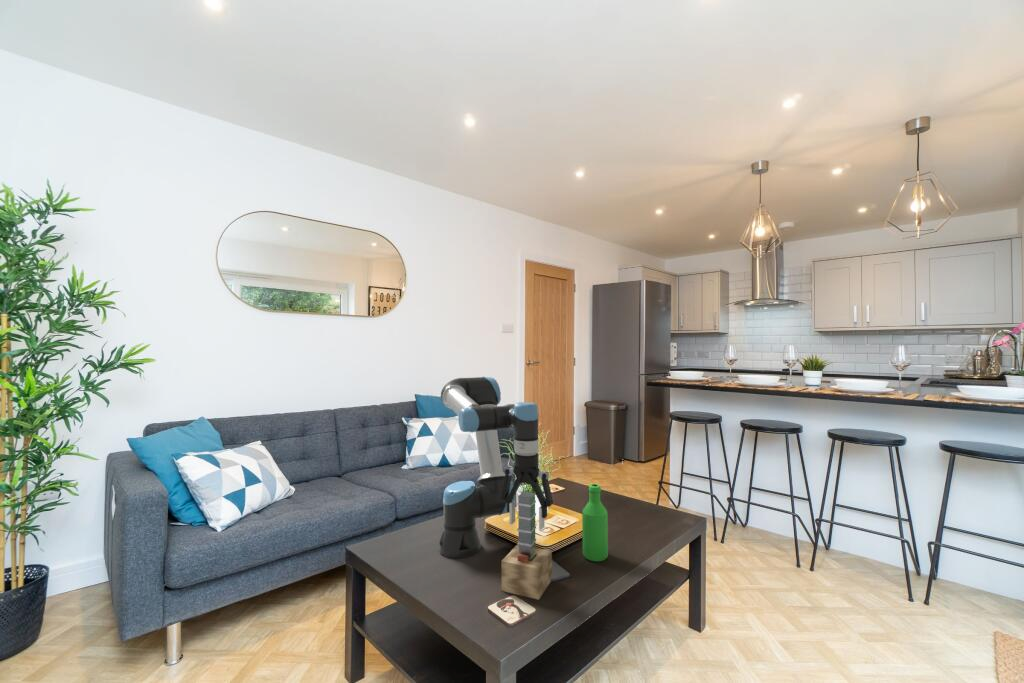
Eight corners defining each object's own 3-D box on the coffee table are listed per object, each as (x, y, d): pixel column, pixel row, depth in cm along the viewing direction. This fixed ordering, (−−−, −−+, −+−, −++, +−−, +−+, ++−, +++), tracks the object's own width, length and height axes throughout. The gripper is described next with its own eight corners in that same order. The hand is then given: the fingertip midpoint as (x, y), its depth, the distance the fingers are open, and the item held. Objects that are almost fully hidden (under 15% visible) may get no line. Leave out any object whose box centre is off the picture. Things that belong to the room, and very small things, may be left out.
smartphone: (547, 555, 155) (571, 574, 142) (547, 558, 155) (571, 577, 142) (528, 560, 152) (551, 580, 138) (528, 563, 152) (551, 583, 138)
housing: (501, 590, 134) (501, 555, 134) (517, 572, 145) (517, 539, 145) (538, 599, 129) (538, 563, 129) (552, 579, 140) (551, 546, 140)
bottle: (608, 563, 150) (607, 490, 150) (582, 561, 151) (581, 488, 152) (607, 551, 158) (607, 482, 158) (583, 549, 160) (582, 480, 160)
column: (517, 567, 136) (517, 495, 136) (523, 561, 140) (522, 491, 140) (531, 570, 134) (530, 497, 134) (536, 563, 138) (535, 493, 138)
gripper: (489, 452, 138) (490, 524, 138) (556, 459, 129) (556, 536, 129) (499, 447, 145) (500, 515, 145) (563, 453, 136) (564, 526, 136)
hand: (526, 525), depth 137 cm, fingers open, 9 cm apart
